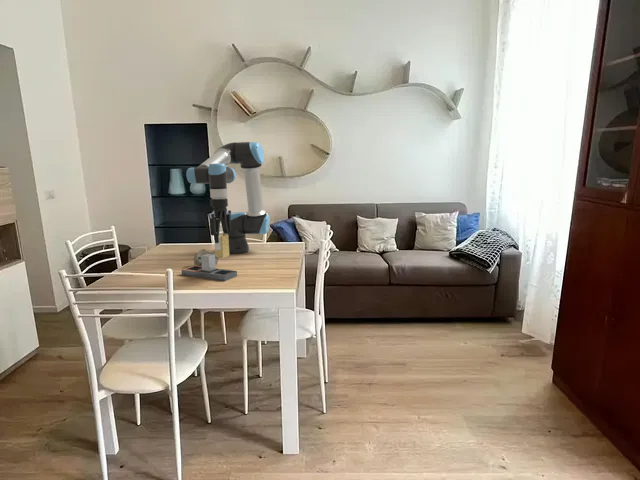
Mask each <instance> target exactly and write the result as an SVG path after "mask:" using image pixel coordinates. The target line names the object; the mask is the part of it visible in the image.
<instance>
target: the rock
mask: <svg viewBox="0 0 640 480" xmlns="http://www.w3.org/2000/svg"><path fill="white" fill-rule="evenodd" d="M205 254H214V255H215V252H213V251H212V250H206V249H205V248H201V249H199V250H198V251H197V252H196V253H195V254H194V256H193V266H194V265H197V266H202V262H201V256H202V255H205ZM219 258H220V257H216V256H215V264H216V265H217V264H218V263H219Z"/></svg>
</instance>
